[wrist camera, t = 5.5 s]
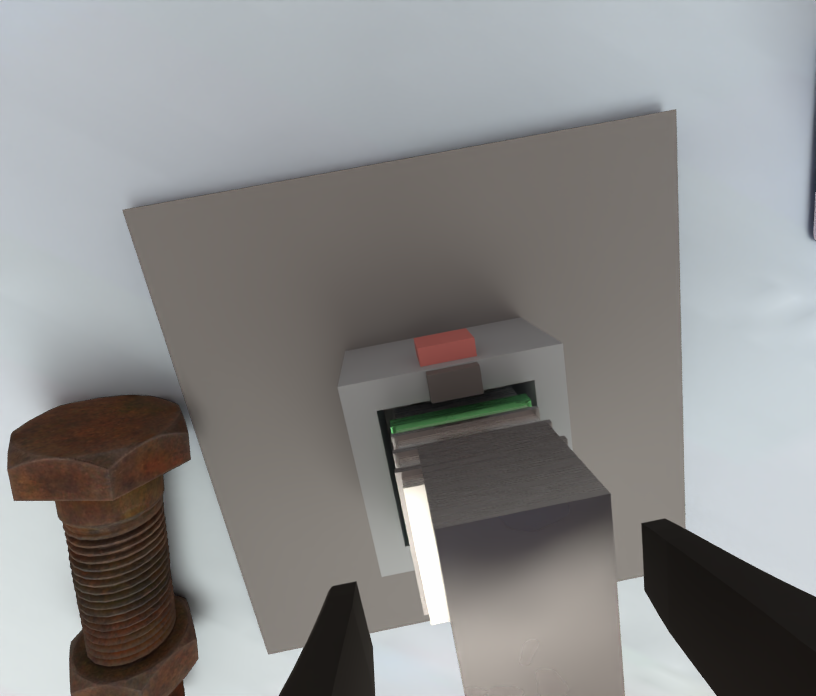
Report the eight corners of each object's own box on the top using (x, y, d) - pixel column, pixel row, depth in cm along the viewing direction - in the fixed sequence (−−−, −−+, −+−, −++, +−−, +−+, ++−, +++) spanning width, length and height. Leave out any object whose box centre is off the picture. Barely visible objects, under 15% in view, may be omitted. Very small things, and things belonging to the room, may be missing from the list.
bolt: (166, 651, 24) (133, 382, 20) (239, 696, 22) (219, 407, 18) (41, 764, 19) (-39, 436, 15) (121, 837, 17) (54, 480, 13)
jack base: (662, 114, 17) (786, 66, 12) (675, 555, 23) (766, 653, 18) (133, 210, 17) (27, 203, 12) (272, 639, 22) (241, 766, 17)
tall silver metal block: (511, 357, 15) (648, 485, 8) (530, 512, 17) (660, 746, 9) (383, 382, 15) (395, 537, 8) (414, 535, 17) (450, 792, 9)
